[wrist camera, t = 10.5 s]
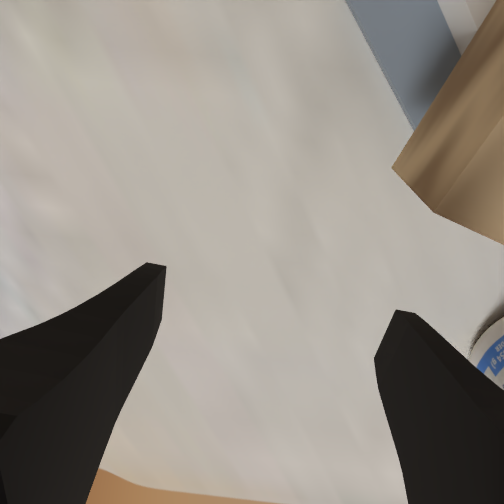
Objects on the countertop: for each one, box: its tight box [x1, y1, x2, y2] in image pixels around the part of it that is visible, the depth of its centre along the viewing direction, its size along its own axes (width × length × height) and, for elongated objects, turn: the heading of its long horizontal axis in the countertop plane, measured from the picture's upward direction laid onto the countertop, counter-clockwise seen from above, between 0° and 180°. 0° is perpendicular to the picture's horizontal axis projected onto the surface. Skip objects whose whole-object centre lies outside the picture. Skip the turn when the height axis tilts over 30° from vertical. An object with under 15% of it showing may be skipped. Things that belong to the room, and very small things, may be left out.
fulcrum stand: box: [345, 0, 496, 131], centre depth 15 cm, size 10×8×3 cm
